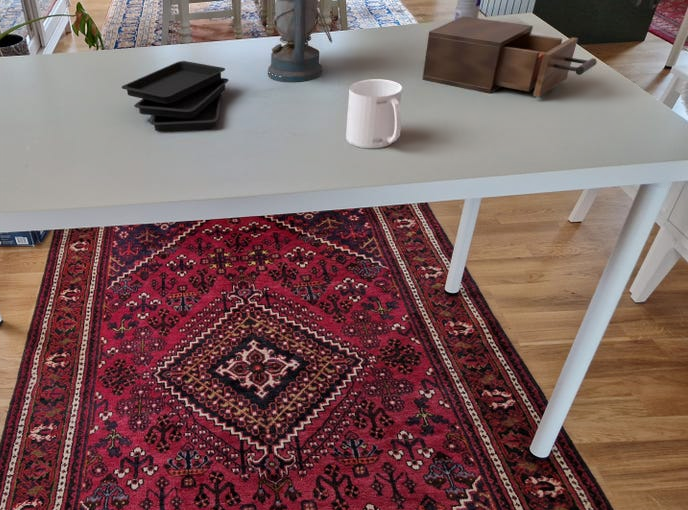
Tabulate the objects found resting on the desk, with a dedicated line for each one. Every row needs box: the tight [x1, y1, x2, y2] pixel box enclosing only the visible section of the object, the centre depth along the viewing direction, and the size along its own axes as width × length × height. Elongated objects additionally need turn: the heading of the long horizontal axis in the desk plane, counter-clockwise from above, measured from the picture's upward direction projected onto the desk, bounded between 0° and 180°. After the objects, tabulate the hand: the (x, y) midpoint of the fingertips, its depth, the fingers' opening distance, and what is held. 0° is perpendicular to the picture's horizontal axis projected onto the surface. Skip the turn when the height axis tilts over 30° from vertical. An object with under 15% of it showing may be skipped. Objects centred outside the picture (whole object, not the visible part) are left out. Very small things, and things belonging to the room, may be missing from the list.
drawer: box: [494, 33, 598, 98], centre depth 130 cm, size 20×13×8 cm, turn 44°
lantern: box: [267, 0, 333, 83], centre depth 141 cm, size 19×14×30 cm
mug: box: [345, 78, 403, 150], centre depth 115 cm, size 12×9×9 cm
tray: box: [121, 60, 230, 132], centre depth 137 cm, size 30×23×5 cm
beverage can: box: [453, 0, 482, 21], centre depth 160 cm, size 6×6×15 cm
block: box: [525, 49, 546, 81], centre depth 131 cm, size 4×4×4 cm
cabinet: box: [422, 16, 534, 94], centre depth 137 cm, size 16×14×10 cm
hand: (644, 5), depth 112 cm, fingers closed
